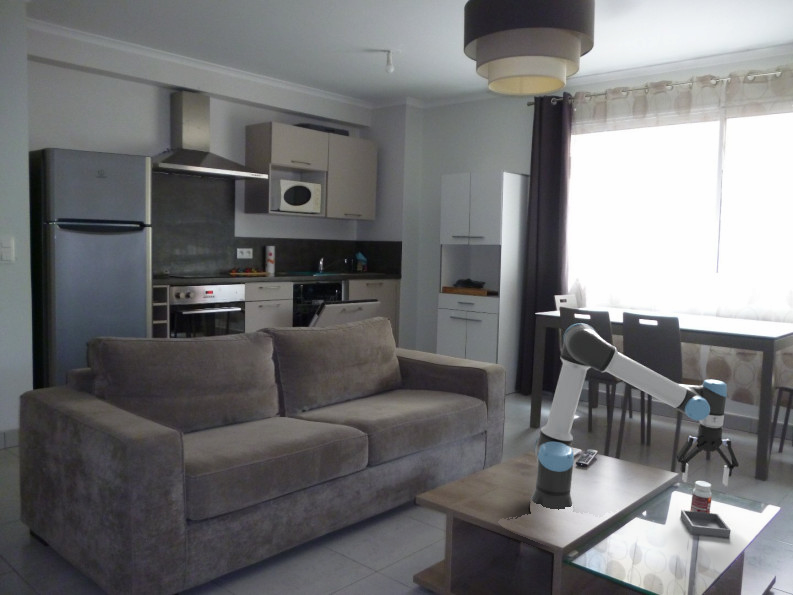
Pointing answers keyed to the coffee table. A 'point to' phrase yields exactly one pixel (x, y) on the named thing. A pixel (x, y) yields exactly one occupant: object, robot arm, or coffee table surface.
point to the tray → (705, 524)
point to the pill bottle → (701, 497)
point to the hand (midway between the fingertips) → (704, 483)
